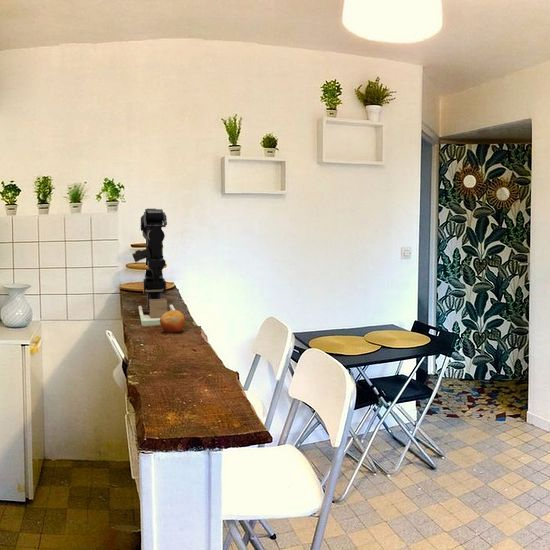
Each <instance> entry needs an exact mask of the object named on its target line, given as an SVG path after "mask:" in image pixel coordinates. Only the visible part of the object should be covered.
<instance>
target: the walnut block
mask: <svg viewBox="0 0 550 550" xmlns="http://www.w3.org/2000/svg"><path fill="white" fill-rule="evenodd" d="M148 309H149V310H148V311H149V315H150V318H161V316H162V315H163V314H164V313H166V312H168V300H167V299H166V298H161V299H149V308H148Z"/></svg>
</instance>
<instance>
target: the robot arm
mask: <svg viewBox="0 0 550 550" xmlns="http://www.w3.org/2000/svg"><path fill="white" fill-rule="evenodd" d="M167 219H168V218H167V215H166V213H165V212H164V211H163V209H162V208H161V209H160V208H159V209H157V208H145V210H144V212H143V214H142V215H141V217H140V231H141V232H142V237H143V238H144V240H145V241H146V246H145V249H138V250H135V252H133V253H132V254H131V255H132V258H133V259H134V260H133V261H134V262H135V263H138V262H140V261H141V260H144V259H145V263H147V264H146V265H147V269H146V270H145V273H144V278H143V283H142V284H143V286H142V288H143V289H142V290H143V291H142V292H143V295H146V305H145V308H148V309H149V299H162V294H166V293H167V281H166V280H165V278H164V276H163V275H164V274H163V270H164V267H166V266H167V263H166V260H165V259H164V254H163V253H164V252H163V251H164V243H163V241H164V240H165V237H166V236H165V232H164V231H163V229H162V228H166V227H167V225H168V221H167Z"/></svg>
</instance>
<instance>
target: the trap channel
mask: <svg viewBox="0 0 550 550" xmlns="http://www.w3.org/2000/svg"><path fill="white" fill-rule="evenodd" d="M173 310H176V308H175V307H174V305H173V304H169V311H173ZM138 312H139V317H140V323H141V327H148V326H149V327H150V326H161V324H160V318H150V314H144V312H143V307H142V305H138Z"/></svg>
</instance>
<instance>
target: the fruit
mask: <svg viewBox="0 0 550 550" xmlns="http://www.w3.org/2000/svg"><path fill="white" fill-rule="evenodd" d="M185 323H186V317H185V316H184V313H182V311H180V310H178V309H175V310H173V311H171V310H167V312H166V313H164V314H163V315H162V316H161V318H160V324H161V325H160V326H161V327H162V328H163V330H164V332H165V333H166V334H167V333H181V332H182V331H183V330H184V328H185V325H186V324H185Z"/></svg>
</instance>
